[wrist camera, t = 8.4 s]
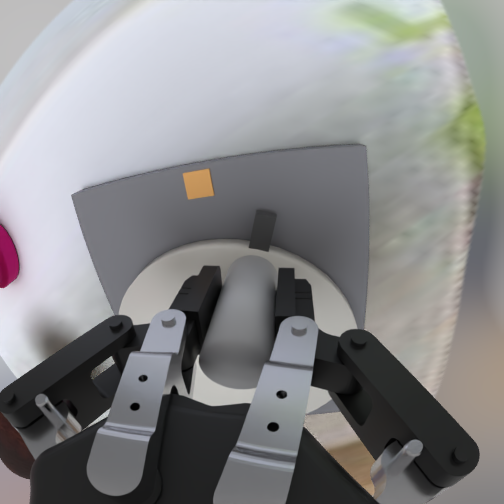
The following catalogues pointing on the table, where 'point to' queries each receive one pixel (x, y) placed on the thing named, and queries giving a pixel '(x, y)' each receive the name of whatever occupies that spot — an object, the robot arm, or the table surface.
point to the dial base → (237, 215)
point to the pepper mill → (7, 259)
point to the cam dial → (237, 308)
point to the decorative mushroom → (14, 449)
